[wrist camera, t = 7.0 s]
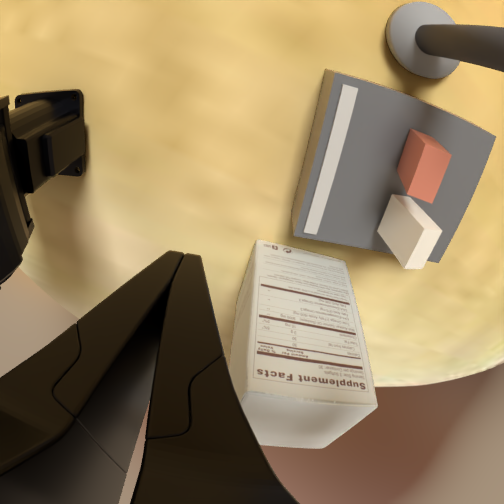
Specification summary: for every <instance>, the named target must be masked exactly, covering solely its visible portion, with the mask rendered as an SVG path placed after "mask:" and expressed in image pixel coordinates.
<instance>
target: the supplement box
mask: <svg viewBox="0 0 504 504" xmlns="http://www.w3.org/2000/svg"><path fill="white" fill-rule="evenodd" d="M229 373H230V376H231V379H232V382H233V385H234V389H235V391H236V394H237V396H238V399H239V401H240V404H241V406H242V409H243V411H244V413H245V415H246V417H247V420H248V422H249V424H250V426H251V428H252V430H253V432H254V434H255V436H256V438H257V440H258V442H259V444H260V445H268V446H280V447H294V448H324V447H326V446H327V445H328V444H330V443H331V442H333V441H334V440H335V439H337V438H338V437H340V436H341V435H342V434H343V433H345V432H346V431H348V430H349V429H350V428H352V427H353V426H354V425H356V424H357V423H358V422H359V421H361V420H362V419H363V418H364V417H366V416H367V415H368V414H370V413H371V412H372V411H373V410H375V409H376V408H377V407H378V404H377V399H376V394H375V388H374V381H373V377H372V371H371V367H370V362H369V356H368V351H367V347H366V342H365V337H364V333H363V329H362V324H361V320H360V316H359V311H358V307H357V303H356V299H355V295H354V291H353V287H352V284H351V280H350V276H349V273H348V269H347V265H346V262H345V261H344V260H341V259H337V258H334V257H330V256H325V255H322V254H318V253H314V252H309V251H306V250H302V249H297V248H293V247H289V246H285V245H281V244H277V243H272V242H268V241H264V240H256V243H255V246H254V248H253V251H252V254H251V257H250V260H249V264H248V267H247V270H246V273H245V277H244V280H243V283H242V287H241V290H240V293H239V297H238V300H237V303H236V313H235V321H234V330H233V338H232V345H231V354H230V362H229Z"/></svg>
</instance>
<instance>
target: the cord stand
mask: <svg viewBox="0 0 504 504" xmlns="http://www.w3.org/2000/svg"><path fill="white" fill-rule="evenodd" d="M386 38H387V43H388V46H389V49H390V51H391V53H392V55H393V56H394V58H395V59H396V60H397V61H398V63H399V64H400V65H401V66H402V67H404V68H405V69H406V70H408V71H410V72H411V73H414V74H416V75H419V76H423V77H426V78H433V79H436V78H442V77H445V76H447V75H449V74H451V73H452V72H453V71H454V70H455V69H456V68H457V66H458V65H459V63H460V61H463V62H467V63H472V64H476V65H480V66H484V67H487V68H491V69H495V70H498V71H502V72H504V28H502V27H492V26H479V25H458V24H455V22H454V21H453V20H452V18H451V17H450V16H449V15H448V14H447V13H446V12H445V11H443V10H442V9H441V8H439V7H437V6H435V5H433V4H430V3H426V2H413V3H408V4H404V5H402V6H400V7H398V8H397V9H395V10H394V11H393V12H392V14H391V15H390V17H389V19H388V22H387V26H386Z"/></svg>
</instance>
